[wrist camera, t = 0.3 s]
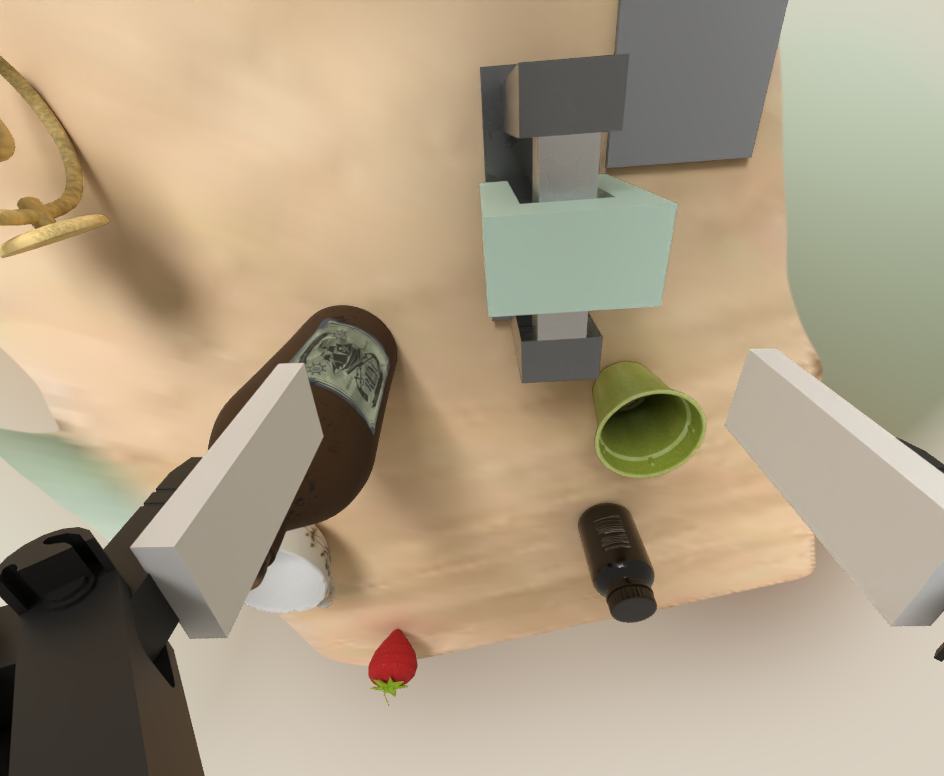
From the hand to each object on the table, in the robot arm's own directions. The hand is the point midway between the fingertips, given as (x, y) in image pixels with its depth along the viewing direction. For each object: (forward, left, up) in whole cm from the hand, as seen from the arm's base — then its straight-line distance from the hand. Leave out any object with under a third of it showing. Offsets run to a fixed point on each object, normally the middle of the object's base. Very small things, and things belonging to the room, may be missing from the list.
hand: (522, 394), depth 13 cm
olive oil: (+11, -14, -28) cm, 33 cm away
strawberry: (+60, -17, -28) cm, 68 cm away
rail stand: (-1, +4, -27) cm, 28 cm away
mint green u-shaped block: (-1, +4, -23) cm, 24 cm away
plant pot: (+17, +13, -28) cm, 35 cm away
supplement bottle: (+37, +13, -28) cm, 48 cm away
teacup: (+37, -26, -28) cm, 53 cm away
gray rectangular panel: (-9, +15, -27) cm, 32 cm away
